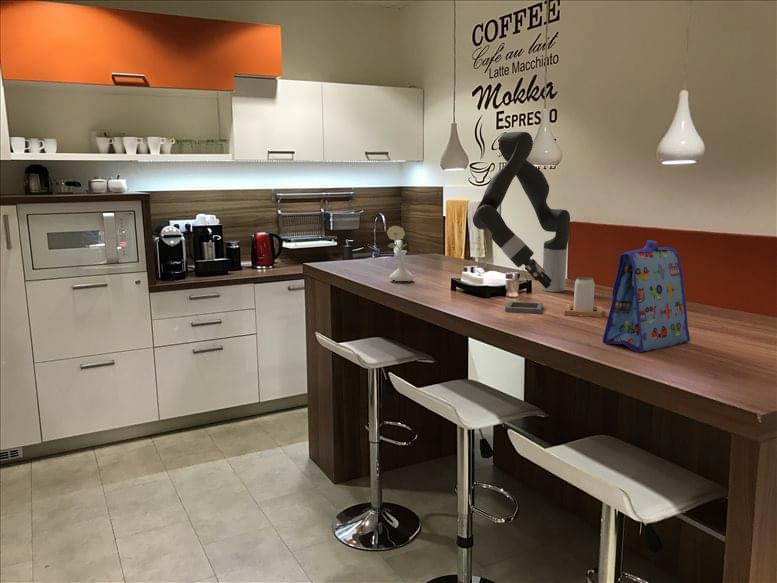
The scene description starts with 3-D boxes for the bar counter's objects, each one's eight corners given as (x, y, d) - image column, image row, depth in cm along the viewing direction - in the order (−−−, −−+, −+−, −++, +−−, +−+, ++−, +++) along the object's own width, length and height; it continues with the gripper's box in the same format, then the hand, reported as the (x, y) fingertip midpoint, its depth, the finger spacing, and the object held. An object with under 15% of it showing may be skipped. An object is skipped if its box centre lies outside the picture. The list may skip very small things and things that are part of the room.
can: (593, 315, 219) (596, 280, 217) (574, 314, 220) (576, 279, 218) (591, 311, 225) (593, 277, 223) (572, 310, 227) (574, 276, 225)
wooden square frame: (565, 308, 230) (565, 304, 230) (601, 310, 227) (601, 306, 227) (564, 315, 219) (564, 310, 219) (602, 317, 216) (602, 312, 215)
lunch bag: (649, 333, 193) (656, 237, 188) (691, 343, 182) (699, 240, 177) (600, 343, 182) (606, 240, 177) (642, 354, 171) (650, 245, 166)
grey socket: (509, 305, 236) (509, 301, 236) (542, 307, 233) (542, 302, 232) (505, 311, 225) (505, 307, 224) (540, 313, 221) (540, 309, 221)
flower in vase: (418, 280, 293) (418, 225, 288) (408, 284, 282) (408, 227, 278) (391, 278, 298) (391, 224, 294) (381, 282, 288) (381, 226, 283)
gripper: (523, 245, 218) (556, 280, 217) (526, 241, 232) (558, 274, 231) (506, 260, 221) (540, 295, 220) (511, 255, 234) (542, 288, 233)
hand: (549, 284), depth 225 cm, fingers open, 8 cm apart
